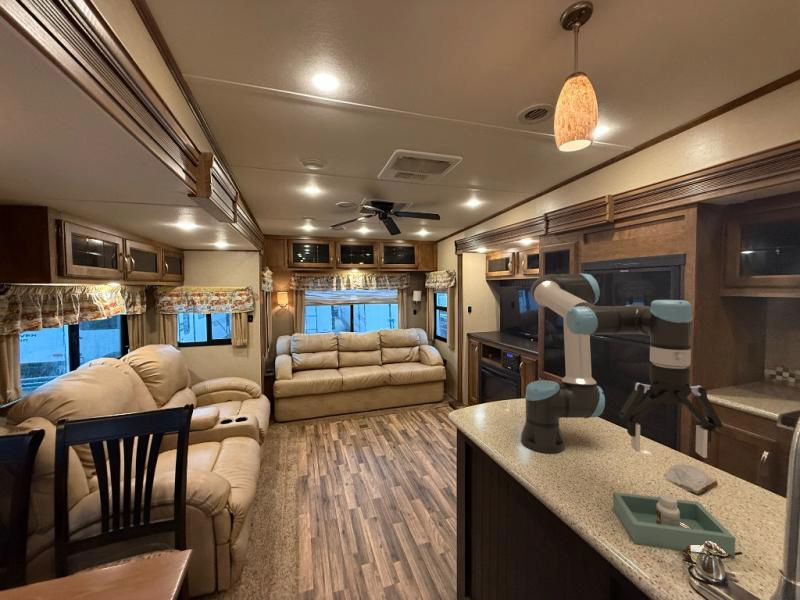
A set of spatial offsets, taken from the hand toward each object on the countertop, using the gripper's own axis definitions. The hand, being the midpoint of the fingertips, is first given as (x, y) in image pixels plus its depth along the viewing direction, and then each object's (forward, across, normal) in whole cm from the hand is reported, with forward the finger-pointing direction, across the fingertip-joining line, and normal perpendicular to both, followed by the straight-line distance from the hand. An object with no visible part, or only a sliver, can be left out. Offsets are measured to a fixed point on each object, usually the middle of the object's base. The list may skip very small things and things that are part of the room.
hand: (667, 451), depth 78 cm
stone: (+20, +17, +24) cm, 36 cm away
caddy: (+19, 0, 0) cm, 19 cm away
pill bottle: (+19, 0, -1) cm, 19 cm away
